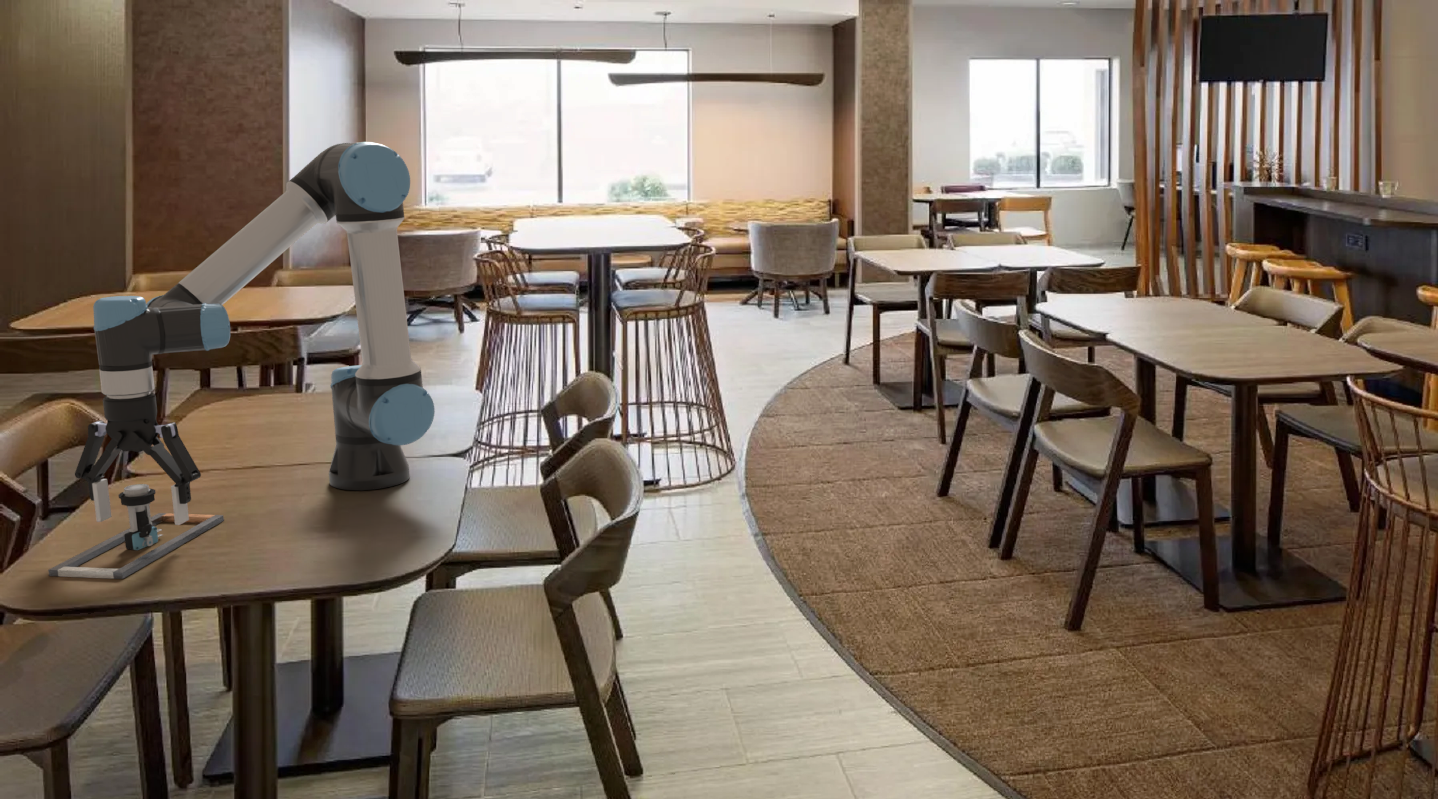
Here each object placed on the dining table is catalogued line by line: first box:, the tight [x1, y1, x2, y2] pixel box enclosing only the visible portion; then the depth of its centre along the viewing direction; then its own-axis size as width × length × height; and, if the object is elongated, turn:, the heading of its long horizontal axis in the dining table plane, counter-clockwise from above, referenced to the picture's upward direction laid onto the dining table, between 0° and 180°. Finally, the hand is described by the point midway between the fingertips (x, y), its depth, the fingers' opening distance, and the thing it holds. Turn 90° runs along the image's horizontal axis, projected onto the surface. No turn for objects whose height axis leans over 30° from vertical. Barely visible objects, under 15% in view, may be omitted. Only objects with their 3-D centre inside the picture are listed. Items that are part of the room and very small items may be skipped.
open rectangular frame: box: [47, 512, 225, 580], centre depth 182 cm, size 12×28×1 cm, turn 174°
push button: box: [118, 483, 163, 551], centre depth 182 cm, size 7×5×10 cm
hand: (142, 521), depth 183 cm, fingers open, 13 cm apart
